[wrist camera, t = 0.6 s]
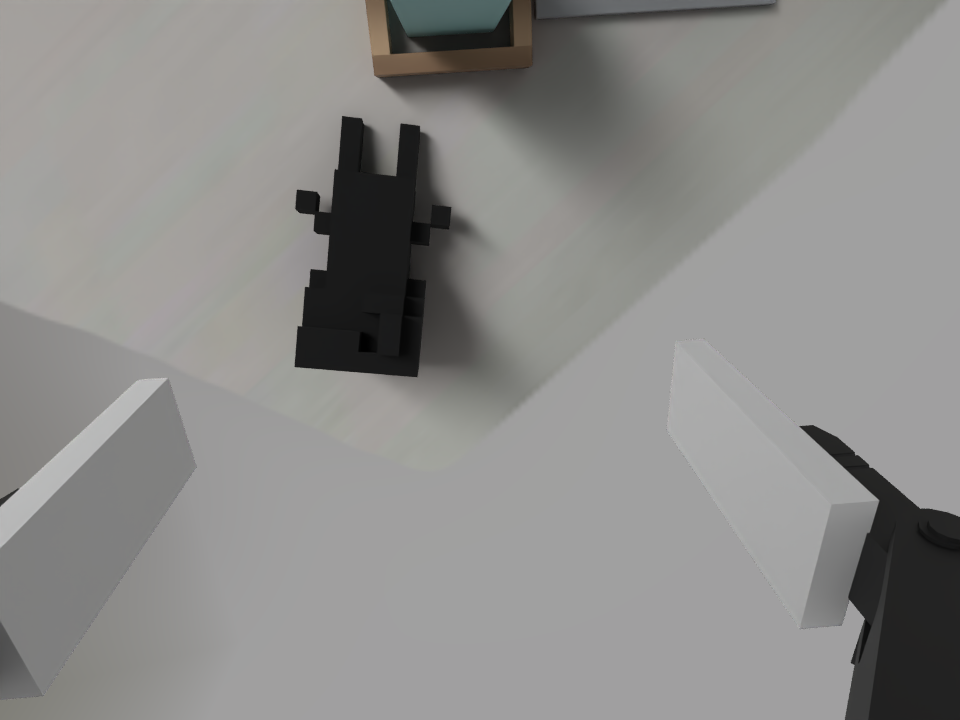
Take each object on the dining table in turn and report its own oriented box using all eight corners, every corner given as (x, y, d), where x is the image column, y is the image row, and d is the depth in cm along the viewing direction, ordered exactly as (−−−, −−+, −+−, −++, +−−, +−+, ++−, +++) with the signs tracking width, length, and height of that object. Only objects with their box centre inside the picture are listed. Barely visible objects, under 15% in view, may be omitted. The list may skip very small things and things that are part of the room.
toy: (461, 108, 31) (437, 380, 32) (454, 154, 39) (435, 370, 40) (288, 86, 30) (267, 366, 31) (317, 137, 38) (300, 358, 39)
